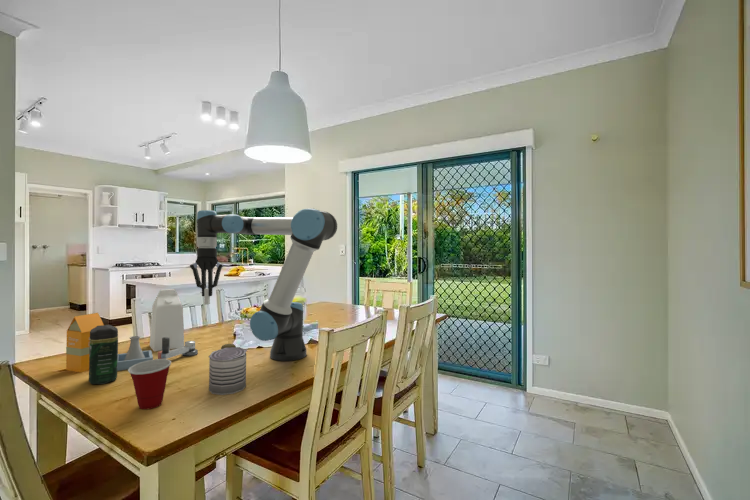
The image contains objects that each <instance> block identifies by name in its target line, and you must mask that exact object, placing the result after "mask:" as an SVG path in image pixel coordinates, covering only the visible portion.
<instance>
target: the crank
mask: <svg viewBox="0 0 750 500" xmlns="http://www.w3.org/2000/svg"><path fill="white" fill-rule="evenodd" d="M169 348H170V337H163V338H162V350H161V351H162V353H161V358H162V359H168V360H169V359H171V358H173V357H176V356H179V355H182V354H183V353H186V352H189V351H194V350H195V349H196V341H195V340H188V341H184V347H180V348H174V349H169Z"/></svg>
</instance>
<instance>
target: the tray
mask: <svg viewBox="0 0 750 500" xmlns="http://www.w3.org/2000/svg"><path fill="white" fill-rule="evenodd" d="M142 352H143V354H144V356H145V358H141V359H134V360H126V361H124V359H125V357H126V355H127V352H126V353H125V352H123V353H118V362H117V372H118V371H127V370H128V369H129V368H130V367H131V366H133V365H135V364H138V363H140V362H144V361H148V360H154V355H153V350H151V349H149V350H142Z"/></svg>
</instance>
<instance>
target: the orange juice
mask: <svg viewBox="0 0 750 500" xmlns="http://www.w3.org/2000/svg"><path fill="white" fill-rule="evenodd" d="M101 325H105V324H104V322H103V320H102V318H101V316H100V313H99V312H93V313H87V314H81V315H75V316H74V317H73V319H72V321H71V323H70V324H69V326H68V329H67V330H66V347H65V348H66V351H65V354H66V357H65V359H66V360H65V361H66V363H65V366H66V367H65V370H66V371H70V372H76V373H83V372H89V349H90V331H91V330H92V329H93V328H95V327H97V326H101Z"/></svg>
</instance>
